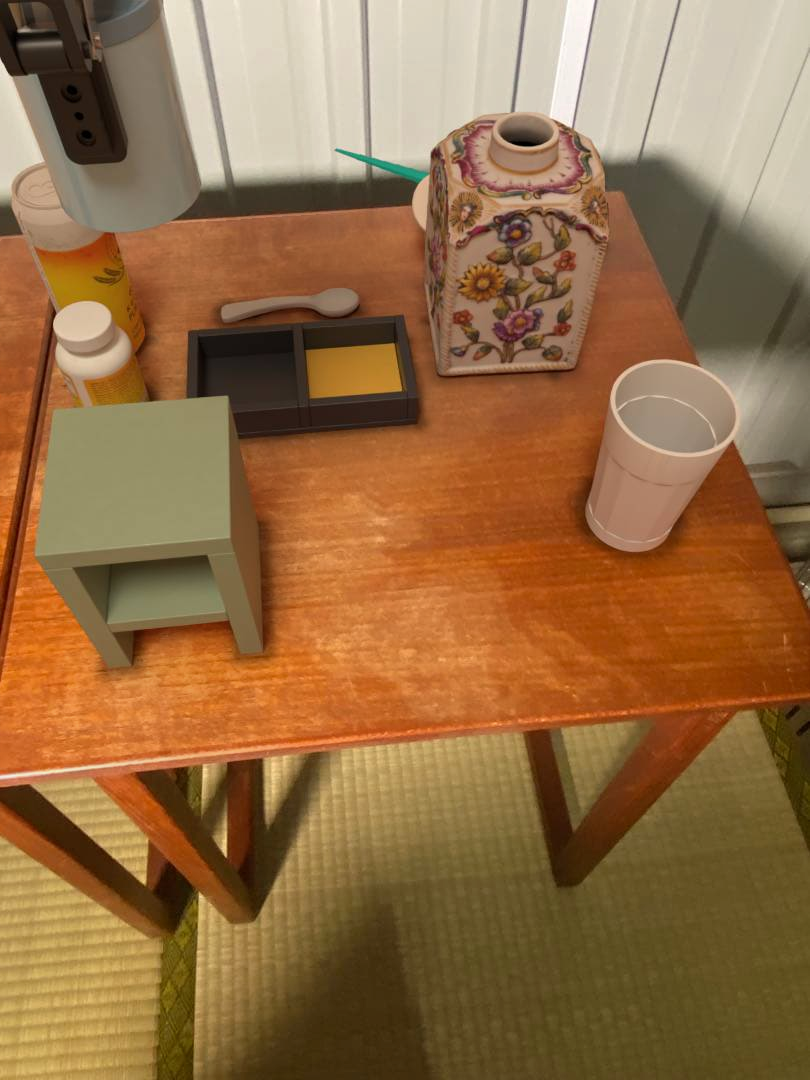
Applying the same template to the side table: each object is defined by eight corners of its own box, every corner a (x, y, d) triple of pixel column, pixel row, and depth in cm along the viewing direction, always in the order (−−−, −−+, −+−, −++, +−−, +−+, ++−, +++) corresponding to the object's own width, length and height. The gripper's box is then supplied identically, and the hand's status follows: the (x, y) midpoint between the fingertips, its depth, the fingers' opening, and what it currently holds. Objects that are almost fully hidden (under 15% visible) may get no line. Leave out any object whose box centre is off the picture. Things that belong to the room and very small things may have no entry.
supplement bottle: (70, 428, 66) (26, 336, 58) (104, 380, 68) (66, 286, 60) (132, 445, 65) (96, 355, 57) (164, 396, 68) (134, 303, 60)
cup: (657, 464, 65) (707, 350, 55) (700, 549, 61) (763, 443, 51) (559, 483, 64) (591, 370, 54) (596, 571, 60) (639, 467, 49)
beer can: (159, 351, 70) (110, 190, 58) (90, 380, 68) (24, 221, 56) (129, 308, 73) (75, 147, 60) (61, 336, 71) (-8, 174, 58)
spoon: (361, 320, 73) (359, 302, 71) (224, 336, 73) (219, 319, 71) (359, 296, 75) (356, 278, 73) (224, 313, 75) (219, 295, 73)
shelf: (109, 669, 55) (33, 556, 43) (117, 540, 60) (52, 408, 48) (263, 652, 56) (230, 537, 44) (258, 527, 61) (228, 394, 49)
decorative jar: (577, 374, 70) (630, 176, 54) (437, 381, 69) (451, 184, 54) (550, 277, 76) (591, 76, 61) (422, 283, 75) (431, 81, 60)
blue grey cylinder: (51, 239, 34) (-33, 34, 28) (66, 151, 38) (-6, -51, 31) (202, 228, 35) (155, 25, 28) (203, 143, 38) (162, -59, 31)
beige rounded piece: (399, 211, 70) (392, 226, 80) (449, 250, 71) (436, 259, 81) (436, 157, 69) (424, 178, 79) (487, 197, 70) (468, 213, 80)
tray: (194, 442, 65) (186, 416, 63) (195, 358, 70) (187, 329, 67) (417, 424, 67) (418, 397, 64) (403, 342, 71) (403, 314, 69)
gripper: (-196, -636, 23) (32, 20, 37) (-409, -561, 15) (-18, 231, 29) (87, -636, 23) (205, 11, 37) (20, -564, 16) (200, 216, 30)
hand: (106, 106), depth 33 cm, fingers closed on blue grey cylinder, 6 cm apart
